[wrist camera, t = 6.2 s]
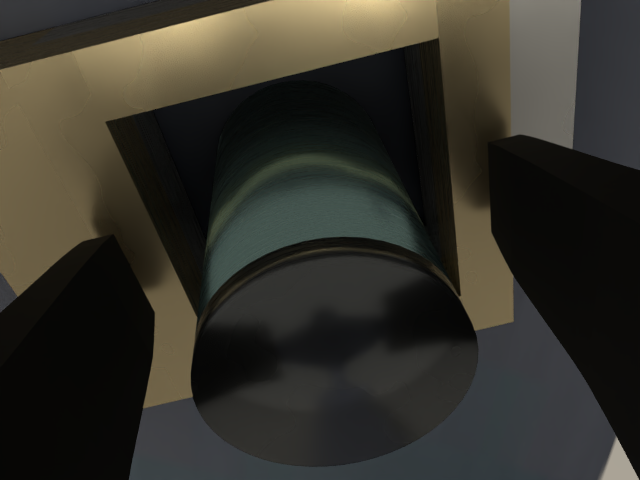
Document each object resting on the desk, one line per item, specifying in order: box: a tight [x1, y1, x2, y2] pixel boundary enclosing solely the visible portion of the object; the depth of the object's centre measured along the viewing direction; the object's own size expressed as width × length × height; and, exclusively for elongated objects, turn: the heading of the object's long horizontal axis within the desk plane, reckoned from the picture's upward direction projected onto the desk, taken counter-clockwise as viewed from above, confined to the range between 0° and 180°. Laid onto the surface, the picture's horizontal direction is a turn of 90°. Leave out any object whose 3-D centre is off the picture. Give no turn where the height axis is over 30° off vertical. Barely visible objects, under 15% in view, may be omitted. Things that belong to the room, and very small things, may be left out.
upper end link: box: [0, 0, 514, 408], centre depth 12 cm, size 8×10×3 cm
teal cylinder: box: [191, 81, 478, 467], centre depth 10 cm, size 4×4×7 cm
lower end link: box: [31, 0, 581, 277], centre depth 13 cm, size 8×10×2 cm
